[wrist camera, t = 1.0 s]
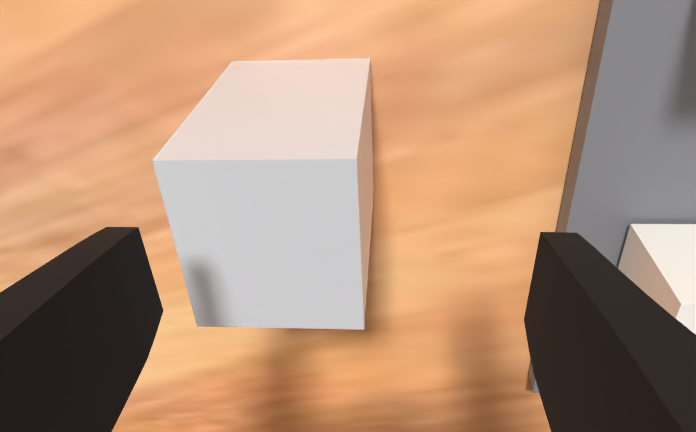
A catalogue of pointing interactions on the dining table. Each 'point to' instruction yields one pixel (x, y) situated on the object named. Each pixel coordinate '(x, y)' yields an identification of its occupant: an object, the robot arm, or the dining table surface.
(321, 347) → the dining table surface
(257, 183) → the block
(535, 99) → the dining table surface
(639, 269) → the mounted modules
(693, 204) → the rail board
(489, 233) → the dining table surface
